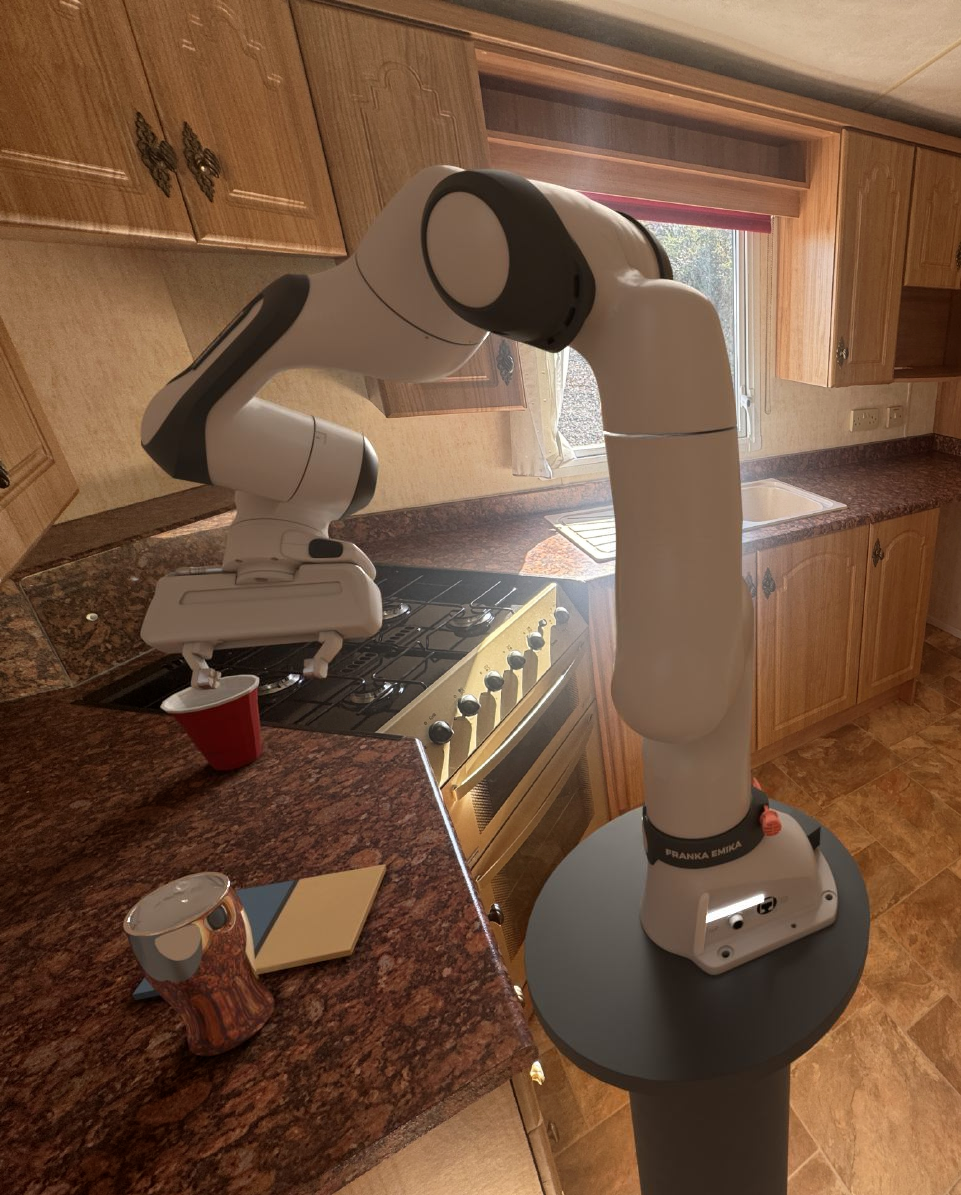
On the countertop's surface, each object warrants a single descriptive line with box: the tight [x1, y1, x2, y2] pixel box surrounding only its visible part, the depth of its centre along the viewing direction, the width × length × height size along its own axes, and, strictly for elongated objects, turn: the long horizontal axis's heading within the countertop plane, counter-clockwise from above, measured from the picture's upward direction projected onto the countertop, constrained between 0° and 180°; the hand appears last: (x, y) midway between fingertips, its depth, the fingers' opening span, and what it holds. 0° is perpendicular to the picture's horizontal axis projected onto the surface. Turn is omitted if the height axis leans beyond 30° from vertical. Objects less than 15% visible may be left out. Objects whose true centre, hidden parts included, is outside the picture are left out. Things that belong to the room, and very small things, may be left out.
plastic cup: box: [160, 674, 263, 771], centre depth 92 cm, size 11×11×12 cm
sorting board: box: [131, 863, 387, 1001], centre depth 67 cm, size 18×12×1 cm, turn 106°
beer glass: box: [122, 871, 276, 1057], centre depth 55 cm, size 7×7×15 cm
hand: (260, 682), depth 64 cm, fingers open, 8 cm apart
